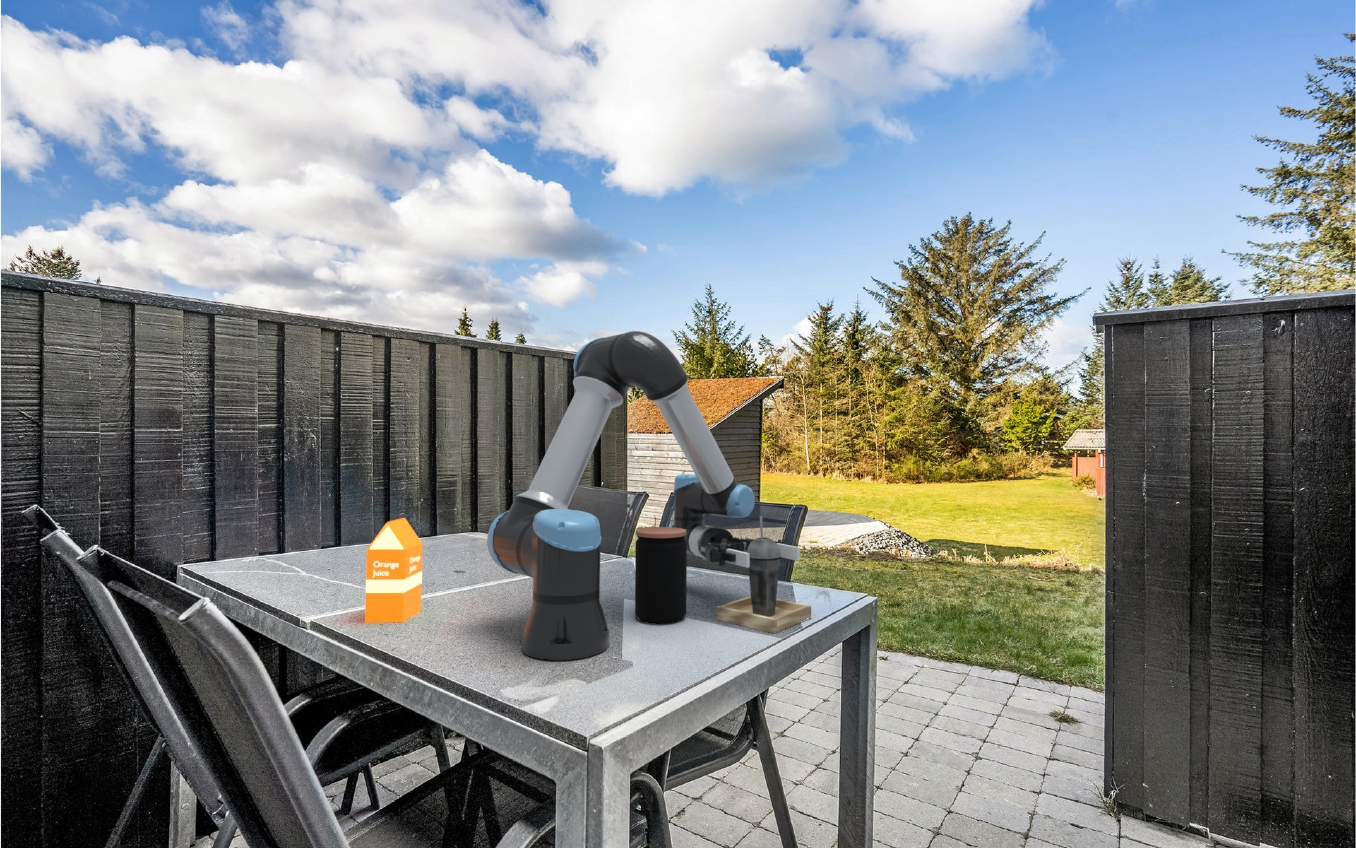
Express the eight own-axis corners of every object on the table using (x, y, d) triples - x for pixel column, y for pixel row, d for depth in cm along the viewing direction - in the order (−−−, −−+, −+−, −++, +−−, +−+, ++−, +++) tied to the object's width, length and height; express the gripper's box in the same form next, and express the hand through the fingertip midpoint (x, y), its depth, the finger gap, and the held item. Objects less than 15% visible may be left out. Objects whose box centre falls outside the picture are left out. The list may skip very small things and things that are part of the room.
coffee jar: (688, 611, 125) (688, 527, 126) (684, 626, 114) (684, 534, 115) (639, 610, 126) (639, 526, 127) (630, 624, 116) (631, 533, 116)
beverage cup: (786, 612, 121) (786, 515, 122) (773, 620, 115) (773, 518, 116) (754, 607, 125) (753, 513, 126) (740, 615, 119) (739, 516, 120)
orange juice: (421, 611, 125) (423, 517, 126) (403, 623, 116) (406, 522, 117) (384, 611, 125) (387, 517, 126) (363, 623, 116) (366, 522, 117)
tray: (716, 619, 119) (716, 606, 120) (755, 605, 130) (755, 594, 130) (774, 633, 110) (774, 620, 110) (811, 618, 120) (811, 605, 121)
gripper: (753, 554, 142) (818, 569, 124) (666, 565, 129) (724, 583, 111) (753, 523, 143) (817, 533, 125) (666, 530, 129) (724, 543, 111)
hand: (774, 557), depth 118 cm, fingers open, 13 cm apart
